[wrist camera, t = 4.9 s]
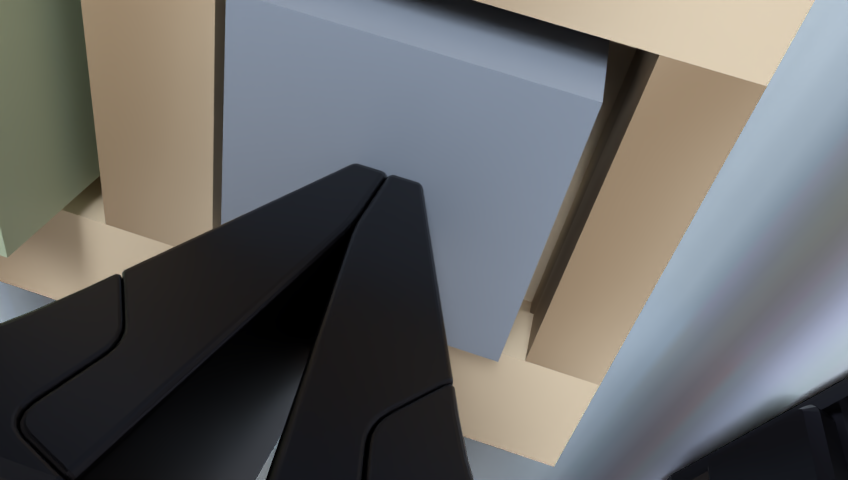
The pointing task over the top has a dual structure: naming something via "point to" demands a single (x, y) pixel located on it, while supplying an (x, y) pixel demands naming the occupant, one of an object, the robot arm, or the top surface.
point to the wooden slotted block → (572, 230)
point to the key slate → (418, 127)
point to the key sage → (42, 115)
